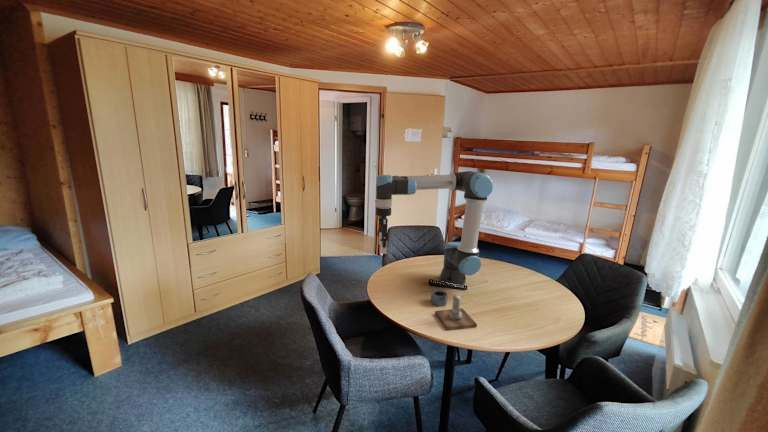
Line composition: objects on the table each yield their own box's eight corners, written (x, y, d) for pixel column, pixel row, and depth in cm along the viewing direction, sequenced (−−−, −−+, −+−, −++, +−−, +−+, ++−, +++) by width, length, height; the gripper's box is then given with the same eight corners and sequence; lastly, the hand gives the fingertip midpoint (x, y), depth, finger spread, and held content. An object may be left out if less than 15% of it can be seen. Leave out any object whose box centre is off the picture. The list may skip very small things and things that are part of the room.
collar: (442, 298, 170) (443, 289, 168) (448, 305, 163) (449, 296, 161) (429, 299, 168) (429, 290, 167) (434, 306, 161) (435, 297, 160)
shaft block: (462, 311, 158) (464, 289, 155) (476, 327, 144) (479, 303, 142) (434, 313, 154) (436, 291, 152) (447, 330, 141) (449, 305, 139)
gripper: (374, 202, 170) (373, 241, 175) (377, 212, 146) (376, 257, 151) (388, 202, 171) (387, 241, 176) (394, 212, 147) (393, 257, 152)
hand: (382, 248), depth 163 cm, fingers open, 13 cm apart
